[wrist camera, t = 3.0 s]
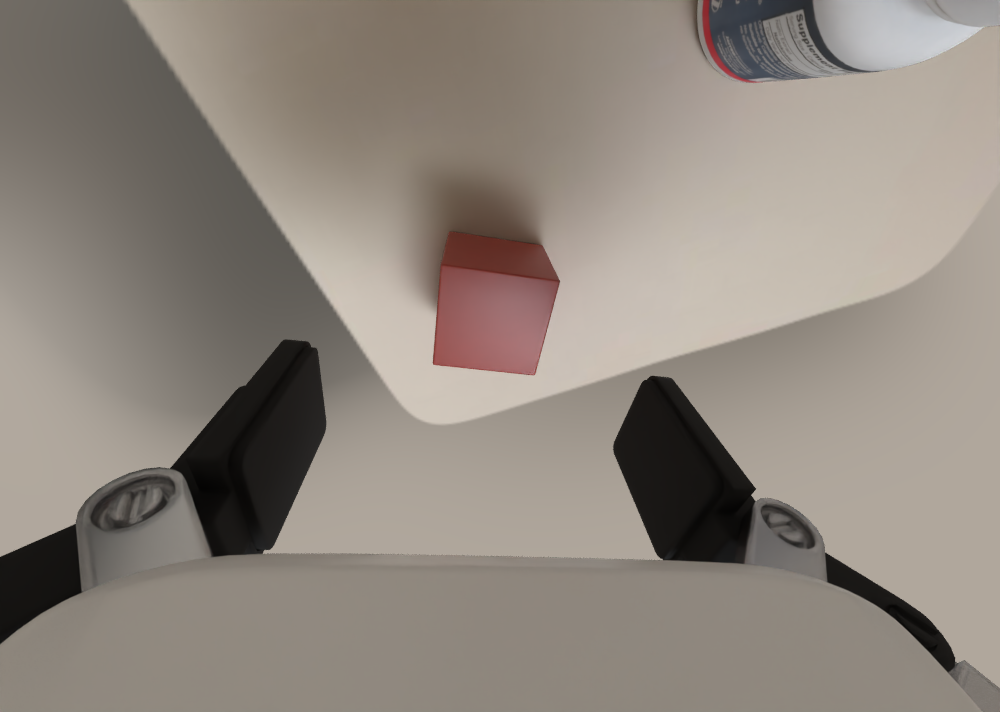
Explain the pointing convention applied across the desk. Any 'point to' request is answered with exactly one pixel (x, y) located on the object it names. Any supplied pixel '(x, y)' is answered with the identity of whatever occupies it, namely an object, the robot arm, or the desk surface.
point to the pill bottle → (833, 35)
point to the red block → (493, 304)
